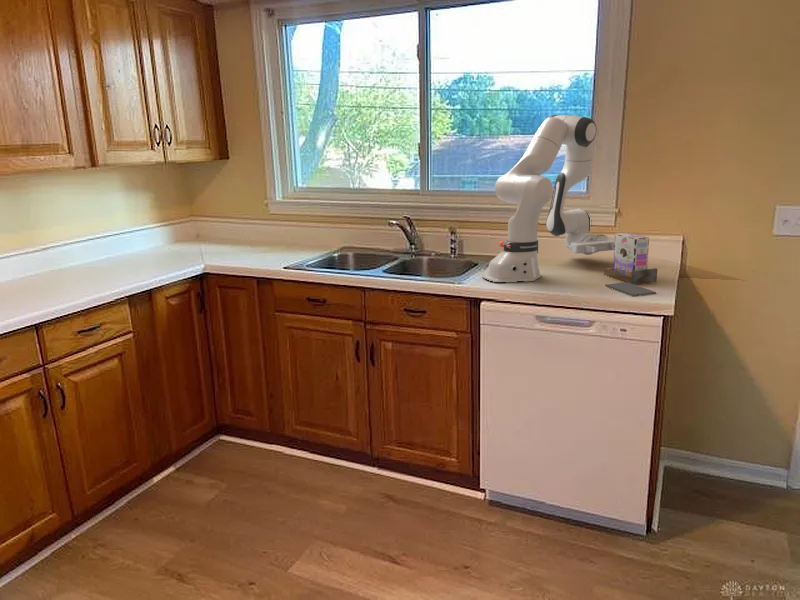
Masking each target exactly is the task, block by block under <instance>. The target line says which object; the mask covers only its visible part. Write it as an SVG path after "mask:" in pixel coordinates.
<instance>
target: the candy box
mask: <svg viewBox="0 0 800 600" xmlns="http://www.w3.org/2000/svg"><path fill="white" fill-rule="evenodd" d="M614 239H615V246H614V250H613V253H614V254H613V268H614V271H616V272H619V273H622V274H625V275H628V276H631V274H632V271H635V270H644V269H648V260H649V259H648V258H649V244H650V242H649V241H650V237H649V236H648V237H647V236H645V235H639V234H635V233H630V232H620V233H614Z"/></svg>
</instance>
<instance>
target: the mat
mask: <svg viewBox="0 0 800 600" xmlns="http://www.w3.org/2000/svg"><path fill="white" fill-rule="evenodd" d="M606 286H607V288H609V287H610V288H609V289H612V288H613V289H612V290H614V289H615V290H614V291H617V290H618V291H617V292H619V293H622V292H623V293H622V294H625V293H626V294H625V295H628V294H629V295H628V296H630V295H631V297H639V295H641V296H648V295H647V294H650V295H656V294H657V291H655V290H651V289H649V288H646V287H642V286H640V285H638V284H637V285H634V284H631V283H628V282H616V283H609V284H608V283H606V284H605V287H606Z"/></svg>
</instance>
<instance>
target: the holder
mask: <svg viewBox="0 0 800 600" xmlns="http://www.w3.org/2000/svg"><path fill="white" fill-rule="evenodd" d="M603 275H604V276H605V275H606V277H608V276H609V277H608V278H611V277H612V279H614V280H617V281H619V280H620V282H622V281H623V282H628V283H631V284H634V285H636V284H637V285H644V284H643V283H646V284H653V283H652V282H655V283H658V281H657V280H658V279H657V278H658V268H657V267H656V268H647V269H644V270H635V271H632V274H631V276H628V275H625V274H622V273H619V272H616V271H614V267H607V268H603ZM623 282H622V283H623Z"/></svg>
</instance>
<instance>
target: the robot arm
mask: <svg viewBox="0 0 800 600" xmlns="http://www.w3.org/2000/svg"><path fill="white" fill-rule="evenodd" d="M596 135H597V125H596V123H595V121H594V120H593V119H592V118H590V117H586V116H583V117H582V116H577V115H572V114H571V115H570V114H553V115H548V116H547V117H546V118H545V119H544V121H543V122H542V123H541V124H540V126H539V127H538V129H537V131H535V133H534V135H533V137H532V138H531V141H530V143H529V145H528V147H527V148H526V150H525V152H524V153H523V155H522V157H521V158H520V159H519V160H518V162H517V163H516V164H515V165H514V166H513V167H512V168H511V169H510V170H509V171H507V172H506V173H505V174H503V175H501V176H500V177H498V179H497V180H496V182H495V184H494V193H495V196H496V198H498V199H499V200H501V201H503V202H505V203H508V204H516V205H517V208H516V211H515V213H514V214H513V215H512V216H511V217H510V218H509V220H508V221H507V240H506V241H505V242H504V241H502V240H501V241H499V243H498V245H499V247H502V248H503V249H502V251H501V252H499V254H497V255H496V256H495V257H494V258H493V259H491V260H490V261H489V265H488V270H487V272H484V273H483V274H482V275H481V276H482V277H483V278H485V279H487V280H489V281H488V282H490V281H493V282H492V283H494V282H506V283H518V282H517V281H524V282H535V281H536V280H537V279H539V278H541V276H542V274H541V273H540V267H539V259H538V258H539V257H538V254H539V240H538V227H539V218H540V214H541V212H542V210H543V208H544V207H545V206H546V205H547V204H548V203H549V202H550V205H549V206H550V207H549V211H548V214H547V217H546V221H545V227H546V230H547V231H548V233H550V234H551V235H552V236H555V237H561V235H564V234H567V236H566V238H565V245H566V246H567V248H568V250H570V251H571V252H573V253H574V254H582V255H585V256H590V255H593V254H595V253H598V252H608V251H614V246H615V237H610V236H608V235H607V234H595V233H592V232H591V229H590V217H591V216H590V217H589V215H590V214H589V212H588V211H587V210H586V211H587V212H588V213H587V212H586V211H584V210H581V209H580V208H574V209H568V210H564V206H565V200H566V196H567V193H568V191H569V190H570V189H572V188H573V187H574V186H576V185H577V184H579V183H581V182H583V181H584V180H586V179H587V178H588V177H589V176H590V174H592V171H593V168H594V167H593V166H594V140H595V138H596V137H597V136H596ZM562 145H566V146H565V147H566V149H565V153H564V154H565V155H564V156H565V157H564V164H563V167H562V170H561V171H560V173H559V174H558V175H557V176H556V178H555V181H554V185H553V183H552V180H550V178H547V177H544V176H542V175H543V174H545V173H546V172H548V171H549V170H550V169H551V168H552V165H554V162H555V160H556V157H557V156H558V154H559V152H560V150H561V148H562ZM588 214H589V215H588ZM589 231H590V232H589ZM567 248H566V249H567ZM485 279H484V280H485ZM487 280H486V281H487Z"/></svg>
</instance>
